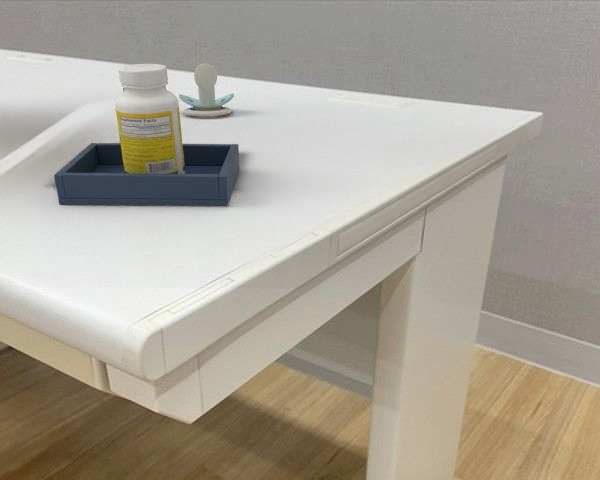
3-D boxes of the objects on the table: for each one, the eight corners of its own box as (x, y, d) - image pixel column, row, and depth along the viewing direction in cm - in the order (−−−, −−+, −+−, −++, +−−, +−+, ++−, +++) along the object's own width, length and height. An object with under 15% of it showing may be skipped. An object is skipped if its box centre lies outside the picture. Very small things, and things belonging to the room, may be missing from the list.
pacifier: (235, 119, 83) (234, 108, 88) (233, 69, 80) (232, 60, 85) (178, 120, 82) (181, 109, 88) (174, 70, 79) (177, 61, 84)
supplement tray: (59, 204, 54) (53, 175, 53) (95, 168, 63) (91, 142, 62) (228, 206, 54) (226, 176, 53) (239, 170, 63) (238, 143, 62)
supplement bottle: (147, 167, 61) (135, 60, 57) (196, 174, 60) (188, 64, 55) (112, 184, 57) (96, 69, 52) (164, 191, 55) (152, 73, 51)
